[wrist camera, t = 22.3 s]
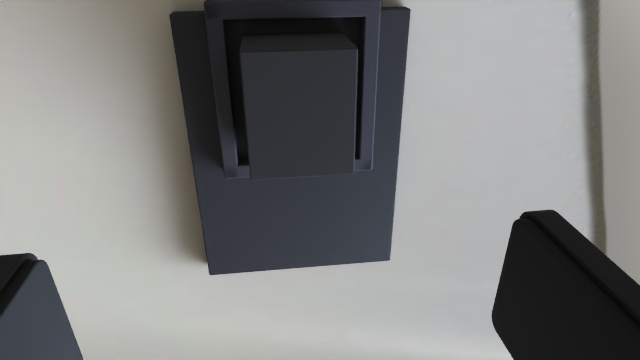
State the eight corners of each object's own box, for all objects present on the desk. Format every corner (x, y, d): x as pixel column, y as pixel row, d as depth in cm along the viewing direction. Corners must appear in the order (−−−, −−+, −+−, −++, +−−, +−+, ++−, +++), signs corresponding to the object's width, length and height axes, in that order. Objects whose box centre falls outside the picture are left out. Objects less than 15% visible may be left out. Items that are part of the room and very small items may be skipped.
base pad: (170, -2, 22) (163, 2, 20) (406, -6, 23) (418, -2, 21) (210, 265, 30) (207, 285, 28) (386, 251, 31) (394, 270, 29)
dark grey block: (242, 33, 22) (239, 51, 18) (341, 30, 23) (358, 48, 19) (251, 144, 25) (250, 181, 21) (339, 139, 25) (354, 174, 22)
